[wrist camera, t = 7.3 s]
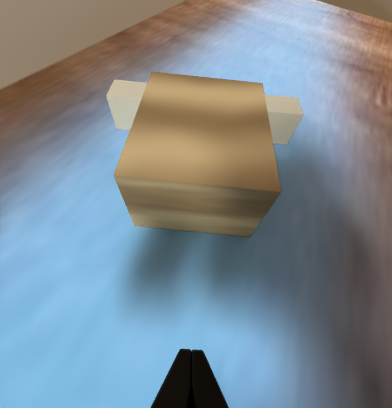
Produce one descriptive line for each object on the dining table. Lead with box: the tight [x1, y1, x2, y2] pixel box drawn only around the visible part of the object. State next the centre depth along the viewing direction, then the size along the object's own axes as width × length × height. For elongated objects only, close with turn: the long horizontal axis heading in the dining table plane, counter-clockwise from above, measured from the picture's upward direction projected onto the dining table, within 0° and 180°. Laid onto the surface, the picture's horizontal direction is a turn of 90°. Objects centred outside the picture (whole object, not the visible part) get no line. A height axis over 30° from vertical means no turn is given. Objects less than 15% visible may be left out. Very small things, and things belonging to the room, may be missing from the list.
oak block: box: [114, 72, 281, 237], centre depth 19 cm, size 12×10×7 cm
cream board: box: [106, 80, 303, 145], centre depth 24 cm, size 3×20×4 cm, turn 86°
